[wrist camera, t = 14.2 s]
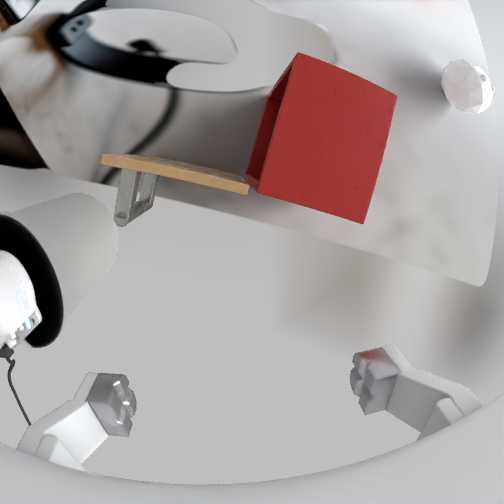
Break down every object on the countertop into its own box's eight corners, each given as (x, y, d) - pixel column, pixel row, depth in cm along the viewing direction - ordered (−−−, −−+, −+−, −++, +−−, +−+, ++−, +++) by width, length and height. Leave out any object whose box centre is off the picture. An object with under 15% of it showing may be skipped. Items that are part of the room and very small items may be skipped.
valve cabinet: (243, 179, 35) (257, 193, 21) (268, 94, 32) (297, 51, 17) (310, 198, 37) (363, 224, 22) (333, 116, 34) (397, 95, 19)
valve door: (227, 220, 37) (229, 261, 22) (141, 201, 35) (90, 229, 20) (239, 175, 35) (249, 185, 21) (150, 155, 33) (102, 154, 19)
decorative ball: (450, 62, 33) (504, 76, 24) (439, 110, 38) (493, 130, 29) (424, 38, 30) (485, 47, 20) (413, 90, 35) (474, 108, 25)
